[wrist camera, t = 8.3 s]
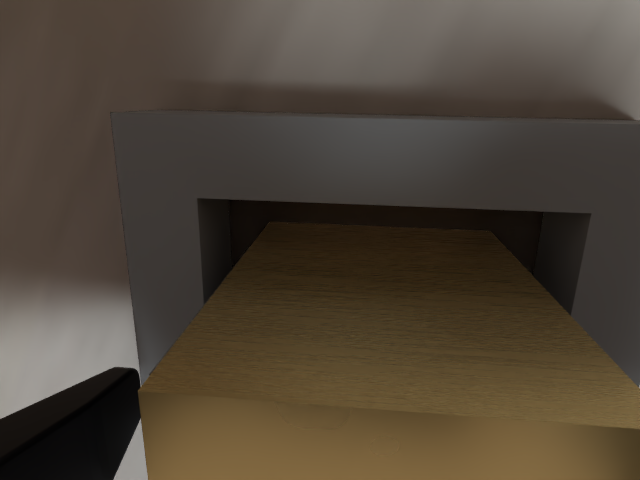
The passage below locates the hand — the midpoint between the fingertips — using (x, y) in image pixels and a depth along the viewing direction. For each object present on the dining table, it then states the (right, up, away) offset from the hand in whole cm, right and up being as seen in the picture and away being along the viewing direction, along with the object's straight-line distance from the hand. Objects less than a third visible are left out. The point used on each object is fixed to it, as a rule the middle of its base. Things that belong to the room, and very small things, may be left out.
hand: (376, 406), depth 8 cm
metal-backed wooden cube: (0, +1, +3) cm, 3 cm away
